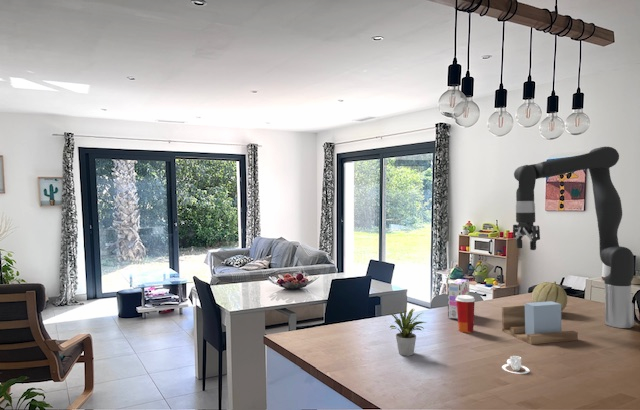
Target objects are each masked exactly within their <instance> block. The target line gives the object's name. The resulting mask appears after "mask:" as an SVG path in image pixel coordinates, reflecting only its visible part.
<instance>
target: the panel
mask: <svg viewBox="0 0 640 410" xmlns="http://www.w3.org/2000/svg"><path fill="white" fill-rule="evenodd" d="M524 305H525V334H526V335H528V334H539V333H551V332H563V331H562V311H561V304H559V303H556V302H552V301H548V302H534V303H533V302H525V303H524Z"/></svg>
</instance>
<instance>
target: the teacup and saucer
mask: <svg viewBox="0 0 640 410" xmlns="http://www.w3.org/2000/svg"><path fill="white" fill-rule="evenodd" d="M508 366H509V367H511V369H512V370H513V371H512V370H508V369H507V367H508ZM521 368H523V369H524V370H525V371H521V372H515V371H520V370H521ZM501 369H502V370H504V371H505V372H508V373H511V374H516V375H517V374H518V375H524V374H528V373H530V369H529V368H528V367H527V366H525V365H522V357H521V356H519V355H510V356H509V358H508V359H507V360H506V363H505V364H503V365H502V366H501Z"/></svg>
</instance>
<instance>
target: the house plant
mask: <svg viewBox="0 0 640 410" xmlns="http://www.w3.org/2000/svg"><path fill="white" fill-rule="evenodd" d="M406 306H407V305H405V307H404V311H403V312H402V311H401V310H400V309H398V313H399V317H400V318H398V316H397V315H396V314H395V312H394V311H390V312H388V314H389V315H390V316H392V317H393V318H394V319H395V320H394V323H395V324H397V325H398V327H399V328H398V327H397V326H396V325H393V324H391V325H390V326H388V327H389V329H390V330H398V331H399V332H398V333H395V337H396V338H395V339H396V343H397V344H396V345H397V351H398V354H400V355H402V356H412V355H414V354H415V347H416V340H417V335H416V334H415V333H413V332H414V331H417V330H418V331H421V332H423V330H425V328H424V327H423V326H421V325H420V324H425V323H428V322H427V321H426V322H425V321H416V320H417V319H418V318H419V317H420V315H422V314H423V312H421V313H419V314H417V315H416V316H415V317H413V318H412V316H413V313H414V311H415V310H416V309H415V308H411V309H410V310H409V312H408V314H407V310H406V309H407V307H406ZM419 325H420V326H419ZM422 329H423V330H422Z"/></svg>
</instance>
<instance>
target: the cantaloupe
mask: <svg viewBox="0 0 640 410" xmlns="http://www.w3.org/2000/svg"><path fill="white" fill-rule="evenodd" d="M531 300H532V303H534V302H548V301H552V302H556V303H559V304H561V312H563V310H565V308H566V307H567V304H568V295H567V292H566V291H565V289H564V288H563V287H562V286H560V285H559V284H557V282H556V281H554V282H550V281H543V282H541V283H539V284H537V285H535V287H534V288H533V290H532V294H531Z"/></svg>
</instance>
